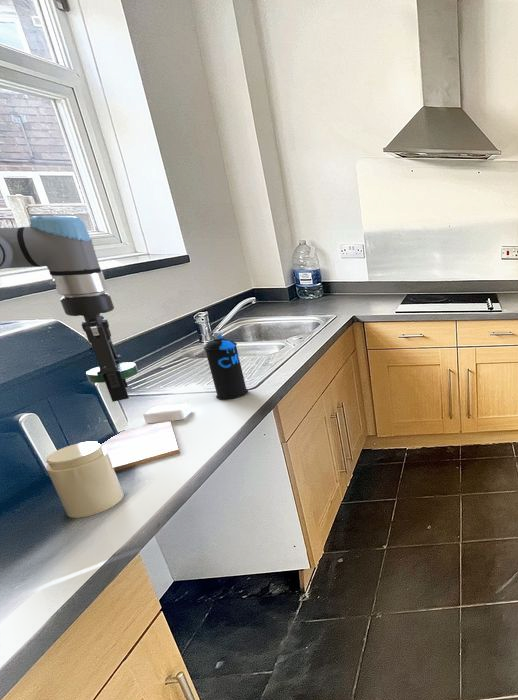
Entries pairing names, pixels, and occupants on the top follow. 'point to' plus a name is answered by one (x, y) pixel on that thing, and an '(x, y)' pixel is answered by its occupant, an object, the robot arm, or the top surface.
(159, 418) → the soap
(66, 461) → the jar
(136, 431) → the white flat board
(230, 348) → the aerosol can
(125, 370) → the lid
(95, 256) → the robot arm
